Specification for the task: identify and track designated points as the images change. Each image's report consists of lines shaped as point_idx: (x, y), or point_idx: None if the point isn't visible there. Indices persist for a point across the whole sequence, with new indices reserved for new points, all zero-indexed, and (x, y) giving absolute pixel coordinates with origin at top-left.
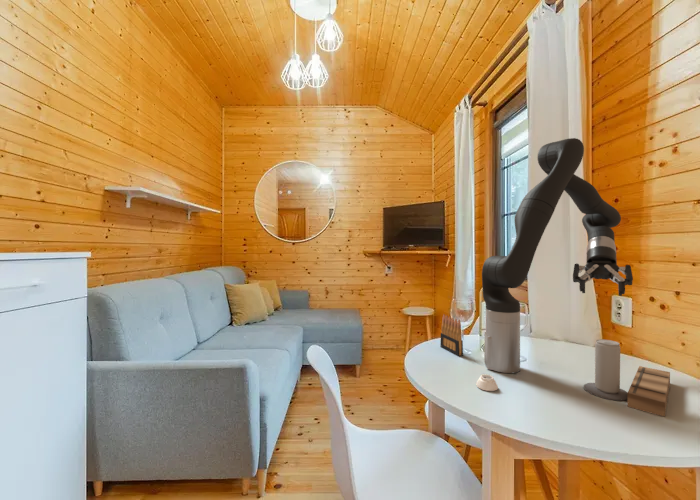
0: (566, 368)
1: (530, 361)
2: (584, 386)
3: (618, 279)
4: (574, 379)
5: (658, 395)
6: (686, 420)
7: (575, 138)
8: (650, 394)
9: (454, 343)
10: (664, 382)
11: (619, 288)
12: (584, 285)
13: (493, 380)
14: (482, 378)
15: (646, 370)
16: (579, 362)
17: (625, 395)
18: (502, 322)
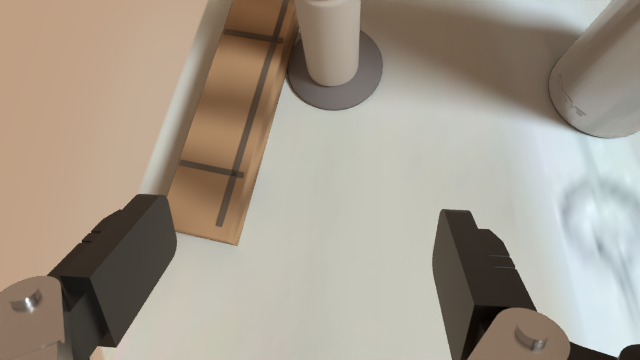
0: (430, 201)
1: (544, 209)
2: (380, 62)
3: (63, 305)
4: (404, 113)
5: (240, 14)
6: (215, 10)
7: None
8: (255, 11)
9: None
10: (201, 115)
11: (141, 211)
12: (458, 238)
13: None
14: None
15: (218, 201)
16: (395, 301)
17: (298, 58)
18: None
